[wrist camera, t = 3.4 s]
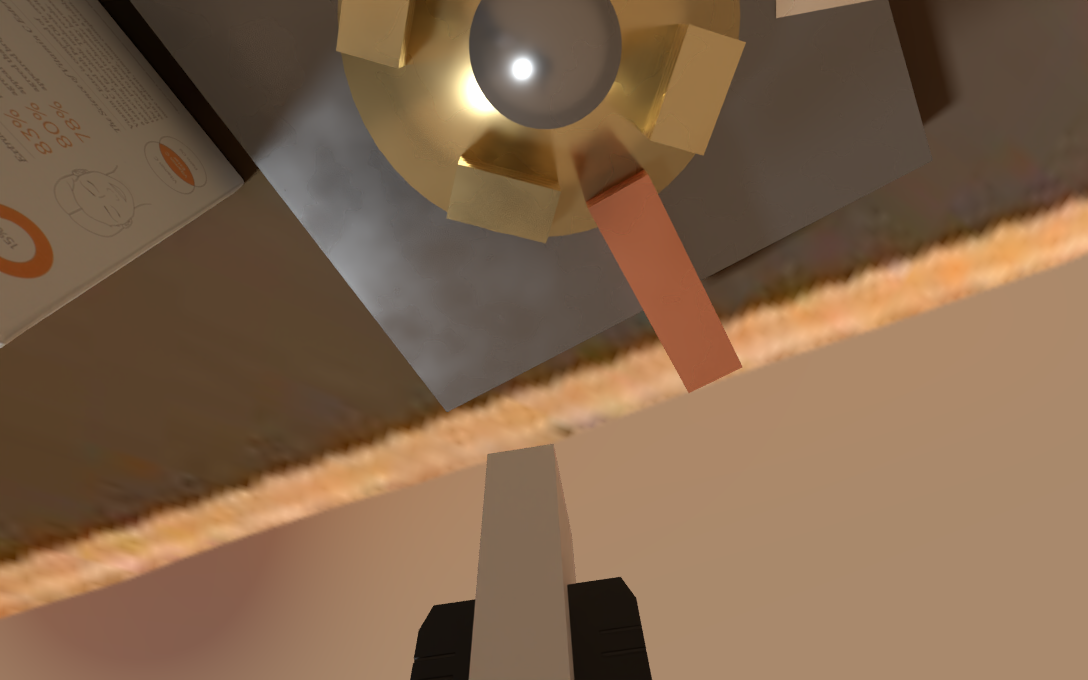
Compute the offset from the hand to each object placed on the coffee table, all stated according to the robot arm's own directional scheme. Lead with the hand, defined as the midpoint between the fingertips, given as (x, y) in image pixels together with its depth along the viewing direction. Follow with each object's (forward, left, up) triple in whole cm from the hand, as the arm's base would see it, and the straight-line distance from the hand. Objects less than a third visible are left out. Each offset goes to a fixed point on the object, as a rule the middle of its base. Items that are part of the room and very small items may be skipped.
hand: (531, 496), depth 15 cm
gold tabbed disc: (+5, +4, -10) cm, 12 cm away
